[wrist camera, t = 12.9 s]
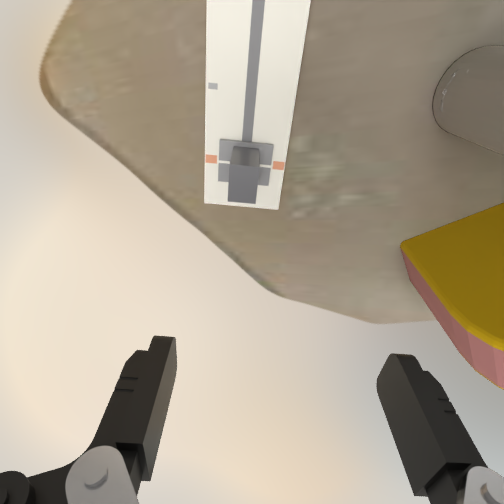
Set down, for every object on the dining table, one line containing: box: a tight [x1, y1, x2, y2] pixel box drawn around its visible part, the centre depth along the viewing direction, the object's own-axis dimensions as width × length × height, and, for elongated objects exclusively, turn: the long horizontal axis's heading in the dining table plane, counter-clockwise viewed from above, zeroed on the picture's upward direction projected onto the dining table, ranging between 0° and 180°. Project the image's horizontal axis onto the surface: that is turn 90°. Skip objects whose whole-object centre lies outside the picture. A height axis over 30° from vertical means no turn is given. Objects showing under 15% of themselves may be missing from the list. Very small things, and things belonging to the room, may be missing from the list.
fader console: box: [204, 0, 311, 210], centre depth 35 cm, size 10×28×2 cm, turn 175°
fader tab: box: [218, 139, 274, 204], centre depth 35 cm, size 6×5×8 cm
